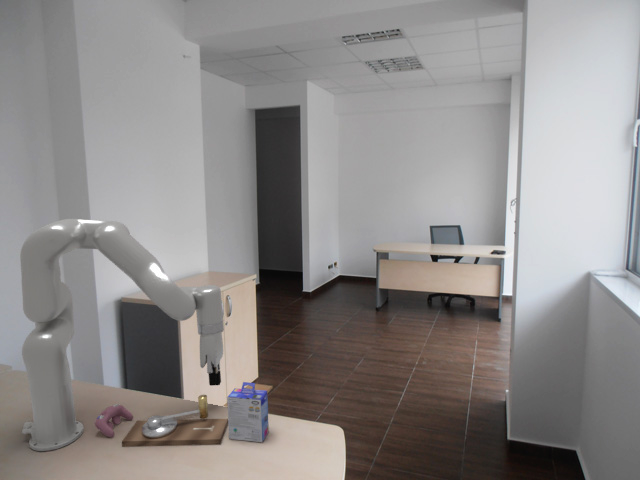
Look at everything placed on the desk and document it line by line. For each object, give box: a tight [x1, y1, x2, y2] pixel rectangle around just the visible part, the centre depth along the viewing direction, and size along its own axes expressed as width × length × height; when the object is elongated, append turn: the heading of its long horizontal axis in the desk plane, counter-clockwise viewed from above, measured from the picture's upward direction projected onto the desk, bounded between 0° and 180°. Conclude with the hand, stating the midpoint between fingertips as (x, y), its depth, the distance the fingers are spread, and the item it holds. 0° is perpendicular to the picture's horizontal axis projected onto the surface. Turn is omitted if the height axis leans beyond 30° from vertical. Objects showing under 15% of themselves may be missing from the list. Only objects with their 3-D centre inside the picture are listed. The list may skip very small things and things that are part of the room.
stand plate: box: [121, 418, 229, 448], centre depth 115 cm, size 26×10×2 cm, turn 90°
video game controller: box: [94, 403, 134, 438], centre depth 118 cm, size 10×5×7 cm, turn 169°
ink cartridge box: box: [226, 381, 270, 443], centre depth 113 cm, size 10×6×14 cm, turn 78°
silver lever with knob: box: [142, 394, 209, 438], centre depth 116 cm, size 18×9×7 cm, turn 110°
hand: (215, 383), depth 128 cm, fingers closed
